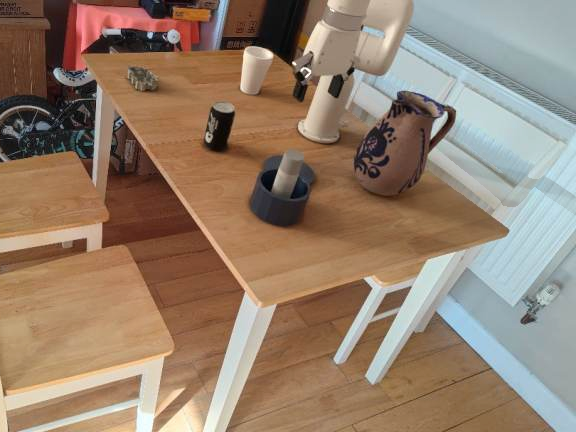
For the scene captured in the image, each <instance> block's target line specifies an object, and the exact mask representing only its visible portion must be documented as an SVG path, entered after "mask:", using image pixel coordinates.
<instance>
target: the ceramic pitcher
mask: <svg viewBox="0 0 576 432" xmlns="http://www.w3.org/2000/svg"><path fill="white" fill-rule="evenodd" d="M445 112H446V114H447V118H446V119H445V120H446V121H445V123H444V124H443V125H442V126H441V128H439V130H438V131H437V132H436V133H435V134H434V136H432V131H433V125H434V122H435V121H436V120H437V119H440V118H442V117H443V116H444V115H445ZM456 119H457V110H456V109H455V108H454V107H453V106H451V105H449V104H443V103H440V102H438V101H437V100H435V99H433V98H431V97H429V96H428V95H425V94H422V93H419V92H415V91H409V90H399V91H397V92H396V99H393V100H392V101H391V105H390V107H389V109H388V110H387V111H386V112H385V113H384V114H383V115H381V116H380V117H379V118H378V119H377V120H375V121H376V122H375V123H374V124H373V125H372V126H371V127H370V128H369V130H368V131H367V132H366V133H365V135H364V136H363V137H362V139H361V140H360V141H359V143H358V145H357V147H356V149H355V151H354V154H353V159H352V169H353V172H354V175H355V177H356V179H357V181H358V182H359V184H360V185H361V186H362V187H363V188H364V189H365V190H367V191H368V192H370V193H373V194H376V195H379V196H382V197H383V196H384V197H388V196H397V195H400V194H402V193H404V192H407V191H408V190H409V189H411V188H413V187H414V186H415V185H416V184H417V183H418V182H419V180H420V179H421V177H422V176H423V174H424V171H425V169H426V165H427V162H428V157H429V154H430V153H431V152H432V151H433V150H434V148H435V147H436V146H437V145H438V144H440V142H442V141H443V139H444V138H445V137H446V136H447V134H448V133H449V132H450V131H451V129H452V128H453V126H454V125H455V123H456Z"/></svg>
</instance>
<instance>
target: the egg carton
mask: <svg viewBox="0 0 576 432" xmlns="http://www.w3.org/2000/svg"><path fill="white" fill-rule="evenodd" d="M127 79H128V80H131V85H135V89H136V90H137V91H141V92H145V91H146V90H150V91H155V89H157V85H158V81H160V78H159V76H158V75H156V74H155V73H153V72H152V71H150V69H149V70H148V67H146V66H144V67H142V66H140V65H139V66H130V65H127Z"/></svg>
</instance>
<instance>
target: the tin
mask: <svg viewBox="0 0 576 432" xmlns="http://www.w3.org/2000/svg"><path fill="white" fill-rule="evenodd" d="M278 169H279V168H276V167H273V168H267V169H264V168H263V170H261V171H259V173H258V175H257V177H256V181H255V183H254V187H253V189H252V194H251V197H250V200H249V206H250V209H251V211H252V213H253V214H254V215H256V217H257V218H259V219H260V220H262V221H264V222H265V223H267V224H271V225H274V226H278V227H288V226H289V227H290V226H293V225H295V224H297V223H298V222H299V221H300V220H301V218H302V216H303V213H304V212H305V209H306V206H307V203H308V201H309V199H310V196H311V194H312V193H311V192H312V188H311V184H310V185H309V183H308V182H307V181H306V180H305V179H304V178H303V177H302V176H300V175H298V178H297V181H296V183H295V186H294V189H293V192H292V194H291V197H290V199H288V198H282V197H279V196H276V195H274V194H273V193H271V190H272V187H273V184H274V181H275V178H276V175H277V172H278Z"/></svg>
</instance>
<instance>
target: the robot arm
mask: <svg viewBox="0 0 576 432" xmlns="http://www.w3.org/2000/svg"><path fill="white" fill-rule="evenodd" d="M414 11H415V5H414V1H413V0H327V3H326V7H325V9H324V12H323V16H322V19H321V20H319V21H317V23H316V25H315V27H314V28H313V30H312V32H311V34H310V36H309V38H308V40H307V43H306V45H305V48H304V50H303V54H302V56H300V57H299V58H297V59H295V60H293V61H292V63H291V68H292V74H293V76H294V79H295V80H296V81H295V85H294V88H293V91H292V93H291V96H292V97H293V98H294V99H295V100H296V101H297V102H298V103H303V102H304V100H305V96H306V94H307V91H308V88H309V84H308V83H309V82H310V80H312V79H313V78H314V77H320V78H319V81H318V83H317V86H316V89H315V92H314V95H313V98H312V101H311V103H310V106H309V110H308V112H307V115H306V118H304V119H301V120H300V121H299V122H298V125H297V129H298V130H297V131H299V133H300V134H301V135H302V136H304V138H306V139H308V140H311V141H313V142H315V143H319V144H333V143H336V142H337V141H338V140H339V138H340V131H339V129H342V128H348V127H349V126H350V122H349V120H341V118H342V116H343V114H344V111H345V109H346V106H347V105H348V101H349V99H350V97H351V94H352V91H353V90H354V86H355V75H354V72H355V70H357V71H359V72H363V73H366V74H368V75H372V76H376V77H382V76H385V75H386V74H387V73H388V72H389V70H390V69H391V67H392V65H393V62H394V61H395V58H396V56H397V53H398V51H399V49H400V46H401V44H402V42H403V39H404V37H405V35H406V33H407V31H408V28H409V25H410V23H411V20H412V17H413V15H414ZM362 26H363V27H367V28H370V29H373V30H376V31H379V32H382V33H383V34H384V37H381V36H379V35H375V34H372V33H370V32H367V31H364V30H362V28H361V27H362ZM306 73H307V74H306Z"/></svg>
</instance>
